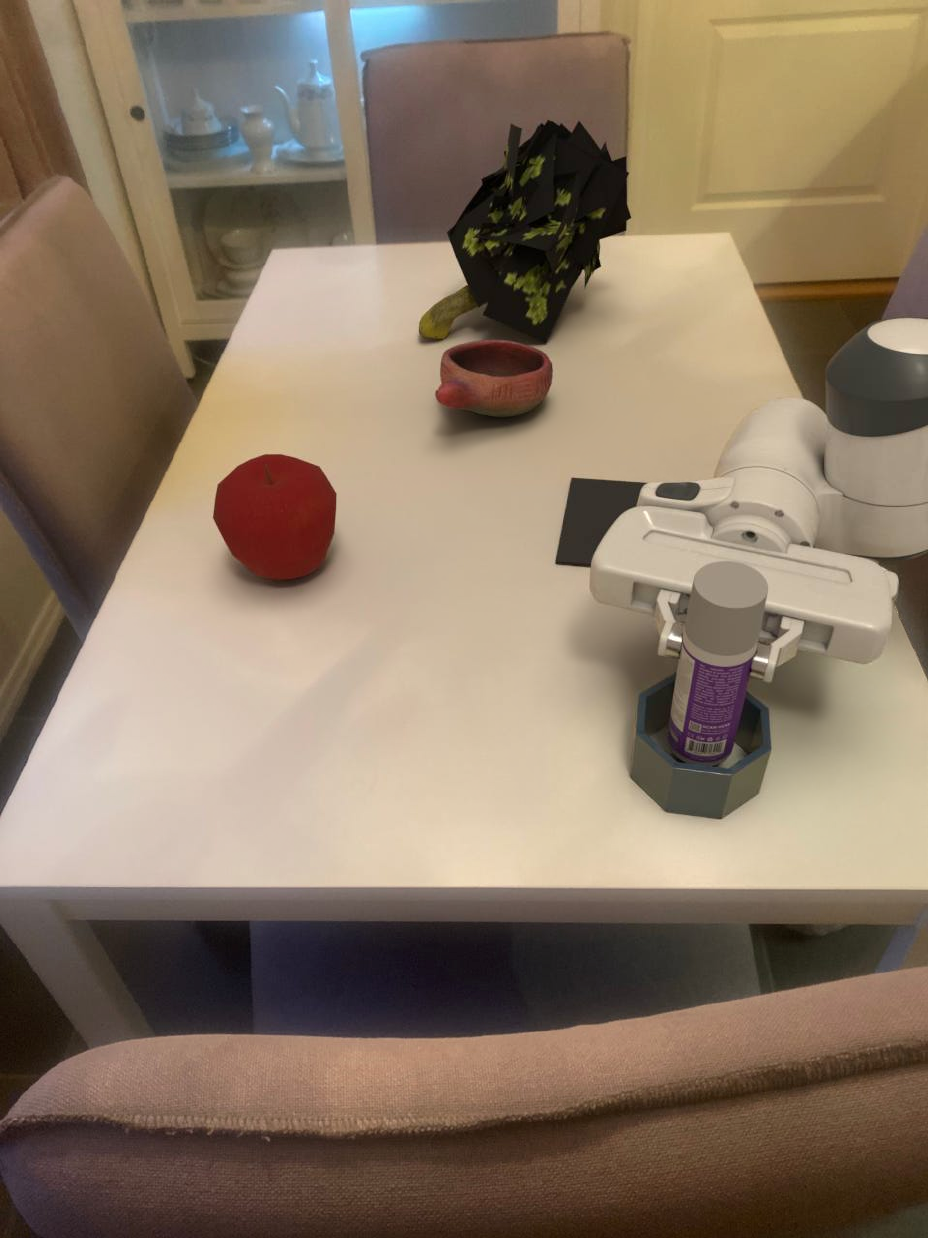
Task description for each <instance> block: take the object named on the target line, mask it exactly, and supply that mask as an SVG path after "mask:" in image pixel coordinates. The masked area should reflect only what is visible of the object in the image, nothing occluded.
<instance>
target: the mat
mask: <svg viewBox="0 0 928 1238" xmlns="http://www.w3.org/2000/svg"><path fill="white" fill-rule="evenodd" d="M647 483H648V482H643V481H628V480H615V479H614V480H613V479H601V478H600V479H599V478H585V477H571V478H570V484H569V488H568V489H569V490H568V494H567V500H566V504H565V509H564V514H563V515H564V516H563V521H562V526H561V531H560V536H559V540H558V546H557V551H556V557H555V565H561V566H562V565H563V566H573V567H575V566H576V567H587V568H591V562H592V558H593V555H594V553H595V551H596V549H597V547H598V545H599V544H600V542H601V540H602V539H603V537H604V536H605V534H606V533H607V531H608V530H609V528H610V527H611V526H612V524H613V523H614V522H615V521H616V519H617V518H618V517H619V516H620V515H621V514H622V513H624V512H625V511H627V510H629V509H631V508H634V507H636V506H637V502H638V498H639V494H640V491H641V489H642V487H643V486H644V485H645V484H647Z"/></svg>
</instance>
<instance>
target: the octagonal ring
mask: <svg viewBox="0 0 928 1238" xmlns="http://www.w3.org/2000/svg"><path fill="white" fill-rule="evenodd" d="M676 675H677V671H675V672H674V673H672V674H670V675H669V676H667V677H665V678H664V679H662V680H660V681H658V682H657V683H655V684H653V685H651V686H650V687H648V688H646V689H644V690H643V691H641V692H639V693H638V694H637V703H636V711H635V717H634V718H635V721H634V728H633V735H632V749H631V761H630V763H631V764H630V773H629V777H630V778H631V780H632V781H634V782H635V784H637V786H639V787H640V788H641V789H642V790H643V791H644V792H645V793H646V794H647V795H648V796H649V797H650V798H651V799H652V800H653V801H654V802H655V803H656V804H657V805H658V806H659V807H660V808H662V810H663V811H664V812H666V813H672V814H679V815H680V814H681V815H688V816H695V817H702V818H710V819H718V820H722V819H724V818H725V817H726V816H728V815H729V814H731V813H732V812H734V811H735V810H737V809H739V808H740V807H741V806H743V805H744V804H745V803H747V802H749V801H750V800H751V799H753V798H754V797H756V796H757V795H759V794H760V791H761V788H762V784H763V781H764V777H765V774H766V770H767V767H768V763H769V760H770V756H771V753H772V750H773V749H772V735H771V734H772V733H771V719H770V718H771V717H770V708H769V707H768V705H766V704H765V703H763V702H762V701H760V700H759V699H758V698H757V697H755V696H754V695H753V694H752V693H750V692H749V691H748V690H747V691H746V695H745V700H744V704H743V708H742V712H741V716H740V721H739V725H738V729H737V733H736V737H735V741H734V743H736V744H737V745H738V746H739V747H741V748H742V749H743V750H744V751H746V753H748V754H747V755H746V756H744V757H743V758H742V759H740V760H739V761H737V762H735V763H734V764H732V765H731V766H729V767H728V768H727V767H720V766H704V765H696V764H688V763H686V762H678V761H677V760H676V759H675V758H673V757H672V756H671V755H670V754H669V752H667V751H666V750H665V749H663V747H661V746H660V745H659V744H658V743H657V742H656V741H655V740H654V739H653V738H652V737H651V736H652V735H653V734H655V733H657V732H658V731H660V730H661V729H663V728H665V727H667V726H669V720H670V713H671V707H672V700H673V694H674V688H675V681H676Z"/></svg>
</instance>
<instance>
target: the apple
mask: <svg viewBox="0 0 928 1238" xmlns="http://www.w3.org/2000/svg"><path fill="white" fill-rule="evenodd" d="M336 516H337V491H335V488H334V487H333V485H332V483H331V482H330V480H329V478H328V477H327V475H326V474H325V472H324V471H323V470H322V468H321V466H319V465H316V464H314V463H311V462H309V461H307V460H303V459H300V458H297V457H295V456H290V455H286V454H282V453H265V454H262V455H259V456H255V457H253V458H250V459H248V460H246V461H244V462H242V463H241V464H239V465H237V466H236V467H235V468H233V470H231V471H230V472H229V474H227V475H226V476H225V477H224V478H223V479H222V480H220V482H219V483H217V487H216V492H215V497H214V505H213V514H212V519H213V522H214V523H215V526H216V528H217V530H218V531H219V534H220V535H221V538H222V539H223V541H224V543H225V545H226V546H227V549H228V550H229V552H230V554H231V556H233V558H234V559H236V560H237V561H238V562H240V564H241V565H243V566H244V567H245V568H247V570H248V571H250V572H251V573H253V574H255V575H257V576H259V577H261V578H265V579H269V580H270V579H271V580H274V581H281V580H283V581H284V580H293V579H297V578H301V577H305V576H308V575H309V574H310V573H312V572H313V571H315V570H317V569H318V568H320V566H321V565H322V563H323V562H324V561H325V559H326V557H327V554H328V551H329V548H330V546H331V543H332V540H333V538H334V535H335V529H336Z"/></svg>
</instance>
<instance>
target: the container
mask: <svg viewBox="0 0 928 1238" xmlns="http://www.w3.org/2000/svg"><path fill="white" fill-rule="evenodd" d="M767 593H768V584H767V581H766V579H765V578H764V577H763V575H762V574H761V573H759V572H758V571H757V570H755V569H754V568H752V567H750V566H748V565H745V564H742V563H738V562H732V561H719V562H713V563H710V564H707V565H705V566H703V567H702V568H700V569H699V570H698V571H697V573H696V574H695V576H694V580H693V586H692V591H691V596H690V601H689V606H688V611H687V616H686V621H685V623H684V625H685V627H684V632H683V637H682V646H681V650H680V659H678V663H677V667H676V668H677V670H676V672H677V675H676V681H675V688H674V694H673V700H672V707H671V713H670V720H669V724H668V725H667V726H668V727H667V732H666V733H667V734H666V741H667V745H668V748H669V750H670V751H671V752H672V754H673V755H674V756H675V757H676V758H678V759H679V760H680V761H682V762H683V763H687V764H696V765H704V766H712V767H715V766H718V765H720V764H722V763H724V762H726V760H728V759H729V757H730V756H731V754H732V752H733V749H734V744H735V737H736V733H737V729H738V725H739V721H740V716H741V712H742V708H743V704H744V700H745V695H746V691H748V686H749V682H750V678H751V677H748V676H749V672H750V669H751V664H752V659H753V657H754V656H755V653H756V649H757V644H758V643H759V640H758V639H759V634H760V629H761V624H762V619H763V614H764V608H765V603H766V598H767Z"/></svg>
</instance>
